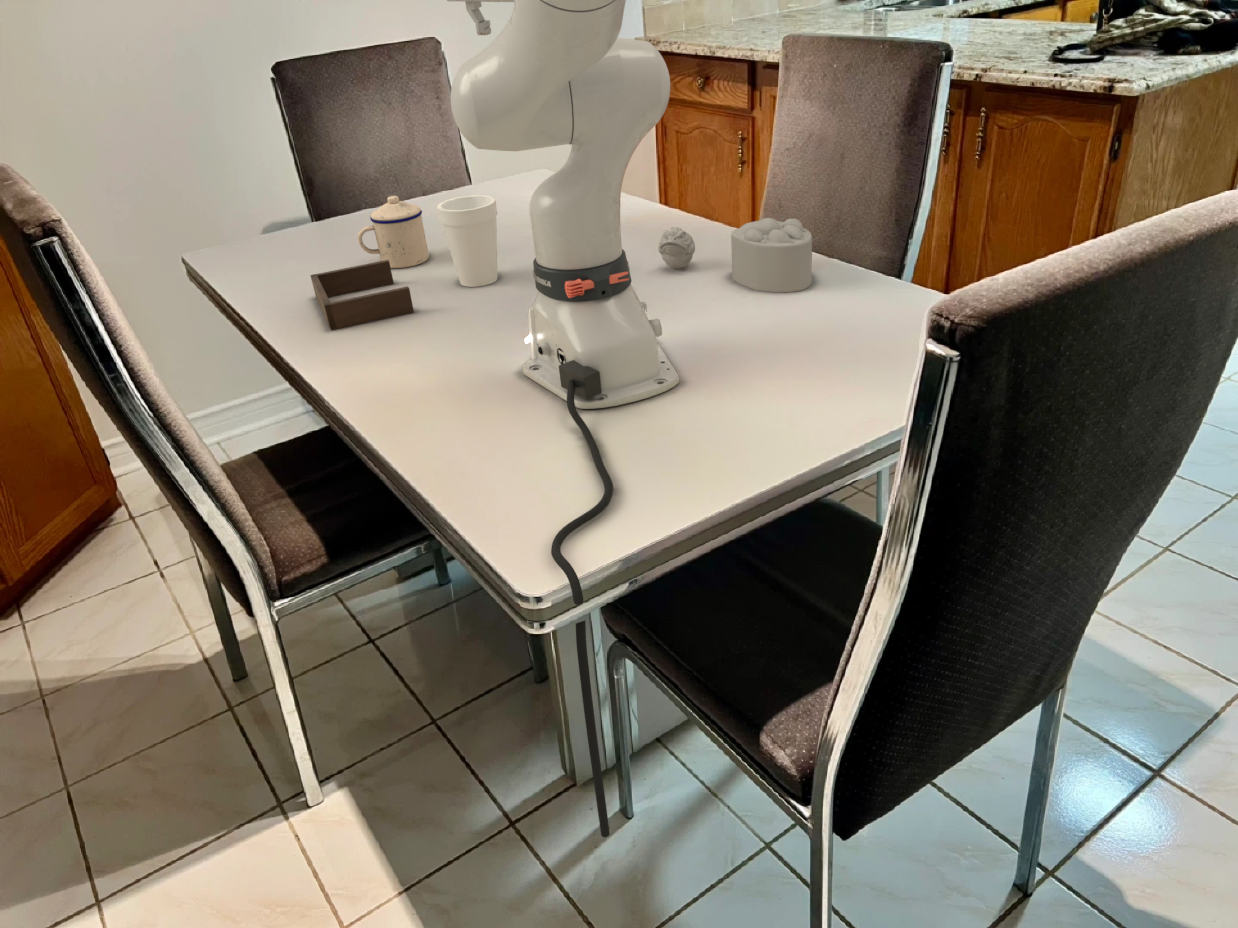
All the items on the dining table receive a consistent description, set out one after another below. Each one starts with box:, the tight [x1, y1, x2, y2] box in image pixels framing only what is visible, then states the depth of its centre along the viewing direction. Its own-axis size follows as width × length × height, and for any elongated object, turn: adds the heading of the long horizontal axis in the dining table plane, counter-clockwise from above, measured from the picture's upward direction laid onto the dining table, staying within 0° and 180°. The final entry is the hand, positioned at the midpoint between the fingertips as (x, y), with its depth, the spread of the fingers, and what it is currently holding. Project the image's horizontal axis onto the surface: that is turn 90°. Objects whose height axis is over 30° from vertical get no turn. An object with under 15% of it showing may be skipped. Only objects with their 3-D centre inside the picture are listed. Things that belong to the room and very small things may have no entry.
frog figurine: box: [657, 226, 696, 269], centre depth 153 cm, size 6×7×7 cm
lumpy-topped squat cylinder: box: [730, 217, 813, 293], centre depth 145 cm, size 10×13×9 cm
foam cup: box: [436, 194, 499, 288], centre depth 155 cm, size 10×9×13 cm
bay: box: [310, 260, 415, 331], centre depth 151 cm, size 17×13×4 cm
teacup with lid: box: [357, 195, 430, 269], centre depth 168 cm, size 12×9×12 cm
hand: (512, 35), depth 136 cm, fingers open, 8 cm apart
